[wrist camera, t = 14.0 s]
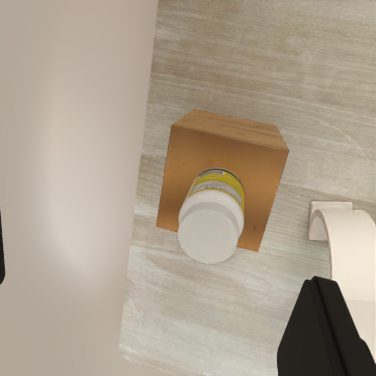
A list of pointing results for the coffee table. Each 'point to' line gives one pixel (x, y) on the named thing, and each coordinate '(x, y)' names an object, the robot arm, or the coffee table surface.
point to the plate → (365, 321)
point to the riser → (224, 166)
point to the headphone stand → (347, 246)
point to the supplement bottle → (212, 216)
